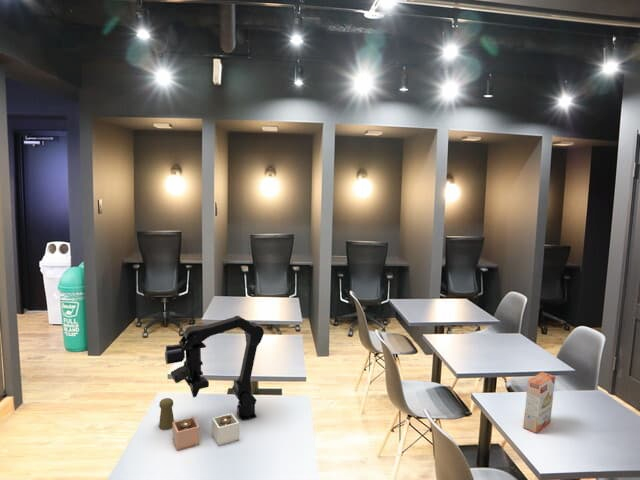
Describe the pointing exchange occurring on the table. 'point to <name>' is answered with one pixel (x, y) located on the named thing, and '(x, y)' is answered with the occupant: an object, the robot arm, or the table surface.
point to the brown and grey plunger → (185, 424)
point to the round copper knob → (225, 420)
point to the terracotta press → (185, 434)
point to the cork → (166, 414)
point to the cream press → (225, 430)
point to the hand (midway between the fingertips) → (194, 397)
